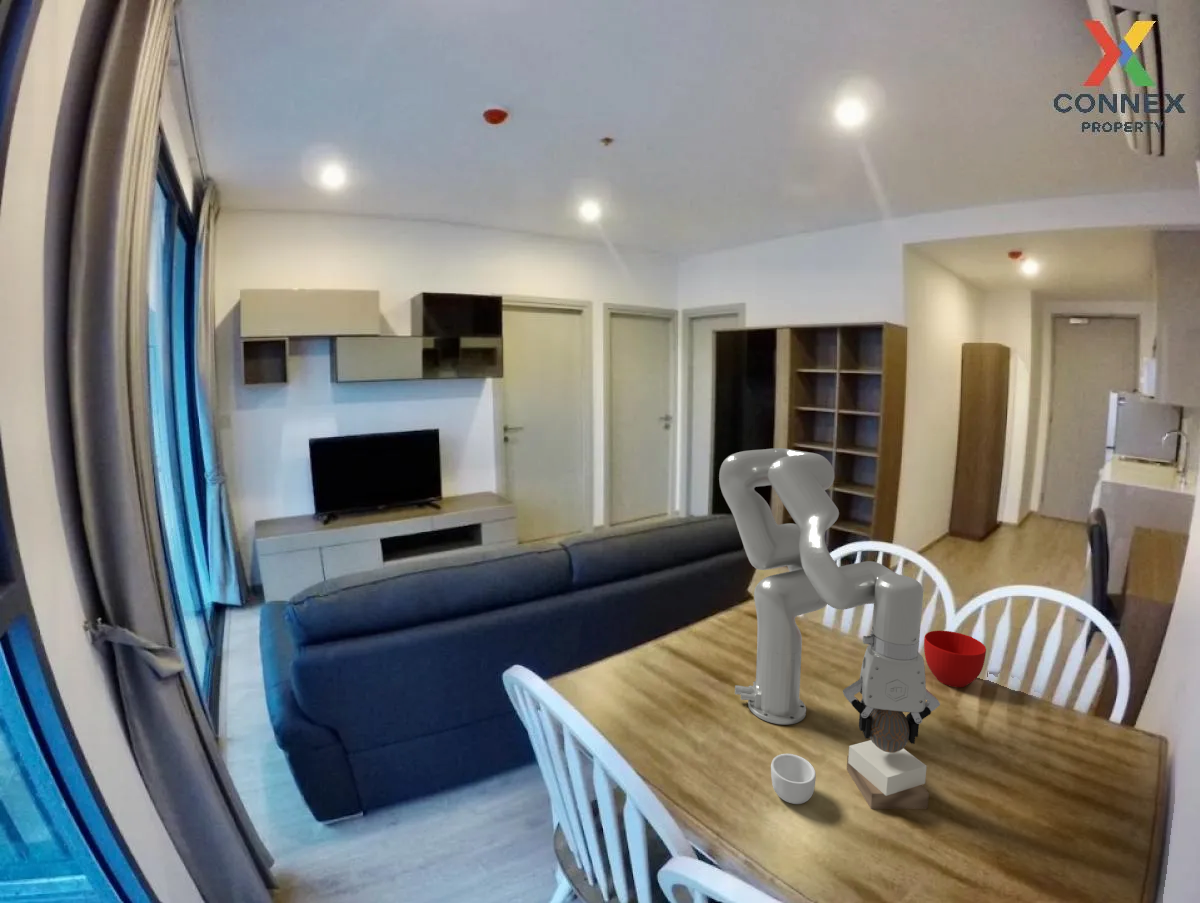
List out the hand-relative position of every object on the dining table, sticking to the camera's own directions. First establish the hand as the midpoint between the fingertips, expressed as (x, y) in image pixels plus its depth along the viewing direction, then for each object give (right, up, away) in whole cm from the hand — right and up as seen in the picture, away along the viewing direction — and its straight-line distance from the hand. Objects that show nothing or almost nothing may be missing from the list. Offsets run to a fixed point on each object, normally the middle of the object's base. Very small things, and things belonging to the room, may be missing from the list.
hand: (887, 735), depth 105 cm
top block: (0, -7, +1) cm, 7 cm away
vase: (0, -2, 0) cm, 2 cm away
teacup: (-17, -11, +1) cm, 20 cm away
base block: (0, -11, +1) cm, 11 cm away
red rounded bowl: (+36, -5, +39) cm, 53 cm away
